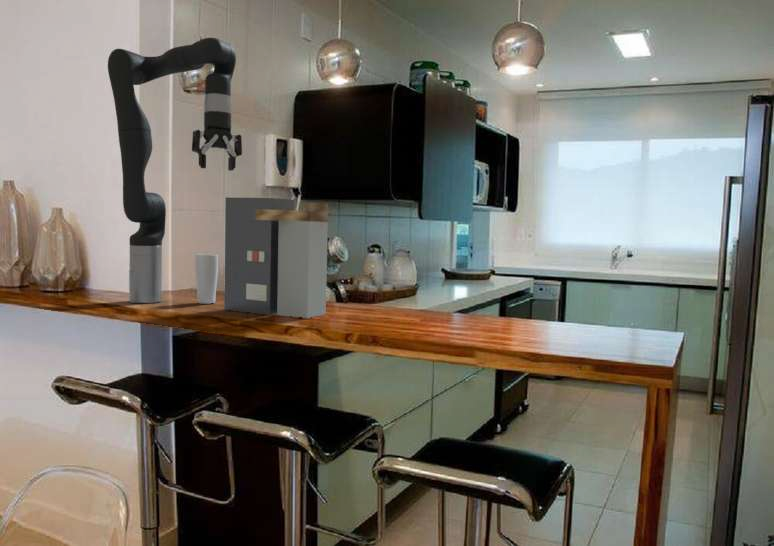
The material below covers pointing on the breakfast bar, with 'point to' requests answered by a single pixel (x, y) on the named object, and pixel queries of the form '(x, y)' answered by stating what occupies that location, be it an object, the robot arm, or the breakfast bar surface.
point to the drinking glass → (206, 277)
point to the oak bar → (296, 213)
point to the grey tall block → (302, 268)
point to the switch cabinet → (252, 255)
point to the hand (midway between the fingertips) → (217, 169)
